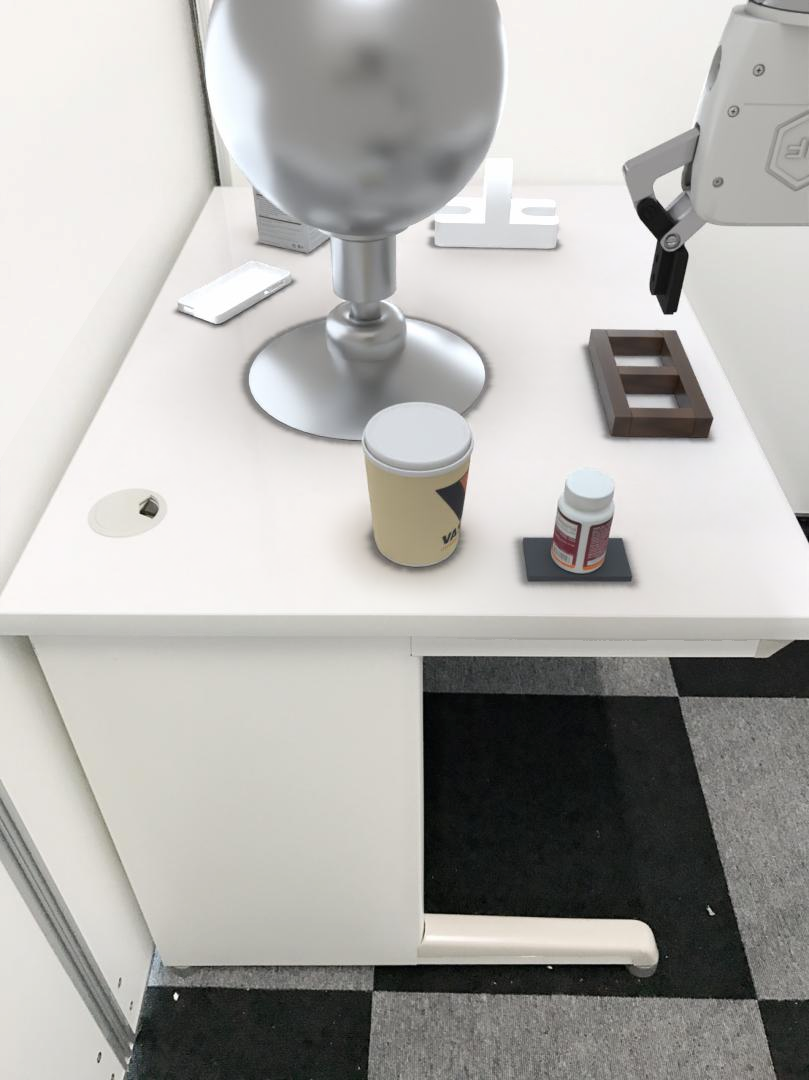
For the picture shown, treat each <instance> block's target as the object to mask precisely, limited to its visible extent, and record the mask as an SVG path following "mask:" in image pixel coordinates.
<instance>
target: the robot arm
mask: <svg viewBox="0 0 809 1080" xmlns="http://www.w3.org/2000/svg"><path fill="white" fill-rule="evenodd" d="M727 17H728V18H727V20H726V22H725V24H724V27H723V30H722V31H721V35H720V37H719V40H718V43H717V45H716V48H715V51H714V53H713V57H712V59H711V63H710V66H709V68H708V70H707V74H706V77H705V80H704V82H703V83H704V84H703V87H702V90H701V93H700V96H699V100H698V104H697V107H696V110H695V114H694V117H693V121H692V125H691V128H690V129H689V130H686V131H684V132H682V133H680V134H678V135H676V136H674V137H673V138H671V139H668V140H667V141H665V142H662V143H660V144H658V145H657V146H654V147H653V148H651V149H648V150H646V151H644V152H642V153H641V154H639V155H636V156H633V157H632V158H630V159H628V160H627V161H625V162H624V164H623V165H622V168H621V174H622V176H623V179H624V182H625V185H626V187H627V190H628V193H629V196H630V199H631V202H632V204H633V208H634V210H635V212H636V214H637V217H638V219H639V220H640V222H642V223H643V225H644V226H645V228H647V230H648V231H649V232H650V233H651V234H652V235H653V237H654V238H655V239H656V245H655V250H654V255H653V260H652V265H651V270H650V276H649V283H648V285H649V288H648V289H649V292H650V295H651V296H655V297H656V299H657V302H658V304H659V307H660V309H661V312H662V314H663V315H665V316H671V315H672V316H673V315H674V314H675V313H677V312H678V308H679V304H680V299H681V295H682V290H683V285H684V281H685V276H686V272H687V268H688V264H689V263H688V262H689V257H690V254H689V251H688V249H687V247H686V246H685V243H686V242H687V241H688V240H690V238H692V237H693V236H694V235H695V234H696V233H697V232H698V231H699V230H700V229H701V228H702V227H704V226H705V225H706V224H707V223H708V224H710V225H714V226H721V227H809V0H745V3H743V4H742V3H741V4H735V5H734V6H733V7H732V8H731V11H730V13H729V14H728V16H727ZM679 168H682V170H681V177H680V186H681V190H682V192H680V194H678V195H677V196H676V197H675V198H674V199H673V200H672V201H671V202H670V203H669V204H668V205H667V206H666V207H664V206H663V204H662V203H660V201H659V200H658V199H657V198H656V197H657V196H656V193H655V191H654V185H655V184H654V183H655V182H656V181H657V179H659V178H661V177H663V176H665V175H667V174H669V173H671V172H673V171H675V170H678V169H679Z"/></svg>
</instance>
